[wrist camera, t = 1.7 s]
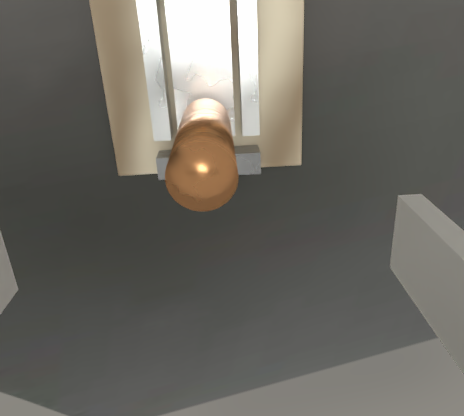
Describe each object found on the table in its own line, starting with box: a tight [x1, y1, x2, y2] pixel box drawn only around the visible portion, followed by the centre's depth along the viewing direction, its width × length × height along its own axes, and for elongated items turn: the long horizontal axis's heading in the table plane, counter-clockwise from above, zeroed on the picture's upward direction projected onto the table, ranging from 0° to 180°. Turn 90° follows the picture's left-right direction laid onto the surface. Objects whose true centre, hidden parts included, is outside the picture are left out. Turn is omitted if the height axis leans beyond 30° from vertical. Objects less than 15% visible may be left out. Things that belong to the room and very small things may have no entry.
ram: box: [164, 0, 238, 211], centre depth 24 cm, size 8×12×12 cm, turn 3°
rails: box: [136, 0, 261, 180], centre depth 30 cm, size 7×12×2 cm, turn 3°
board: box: [89, 0, 304, 176], centre depth 30 cm, size 14×15×1 cm
